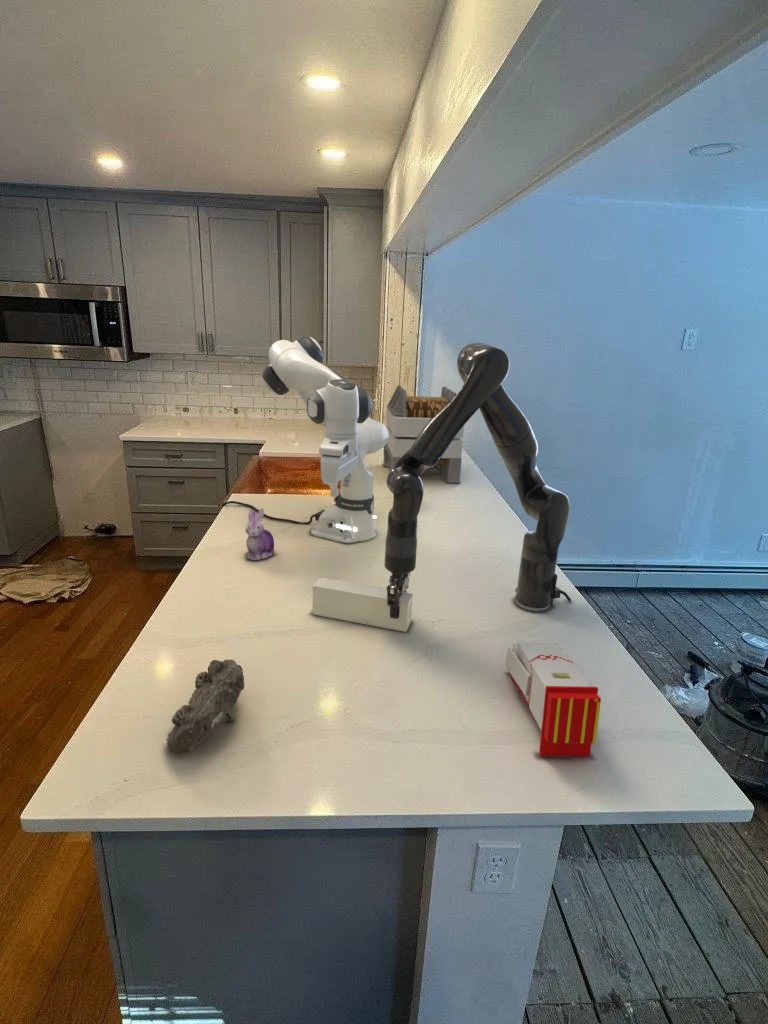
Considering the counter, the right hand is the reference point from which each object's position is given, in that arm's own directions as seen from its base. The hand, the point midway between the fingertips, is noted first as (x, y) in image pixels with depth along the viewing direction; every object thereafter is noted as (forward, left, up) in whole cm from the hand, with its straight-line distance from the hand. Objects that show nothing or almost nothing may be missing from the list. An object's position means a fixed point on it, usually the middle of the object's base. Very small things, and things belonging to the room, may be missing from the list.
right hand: (397, 612), depth 141 cm
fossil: (+46, +22, -4) cm, 51 cm away
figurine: (+26, -50, -4) cm, 57 cm away
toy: (-17, +38, -4) cm, 42 cm away
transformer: (-61, -127, -4) cm, 141 cm away
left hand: (+7, -29, +23) cm, 37 cm away
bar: (+8, -5, -4) cm, 10 cm away
